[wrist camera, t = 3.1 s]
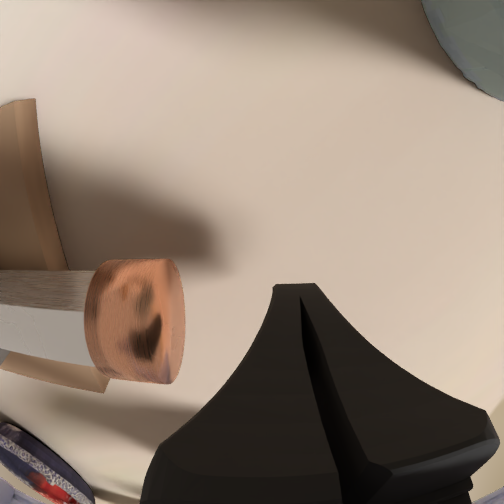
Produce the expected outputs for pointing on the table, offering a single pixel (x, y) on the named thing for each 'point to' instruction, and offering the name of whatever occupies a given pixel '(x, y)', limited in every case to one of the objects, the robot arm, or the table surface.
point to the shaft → (99, 317)
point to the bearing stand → (32, 235)
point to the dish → (41, 468)
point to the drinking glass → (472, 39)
